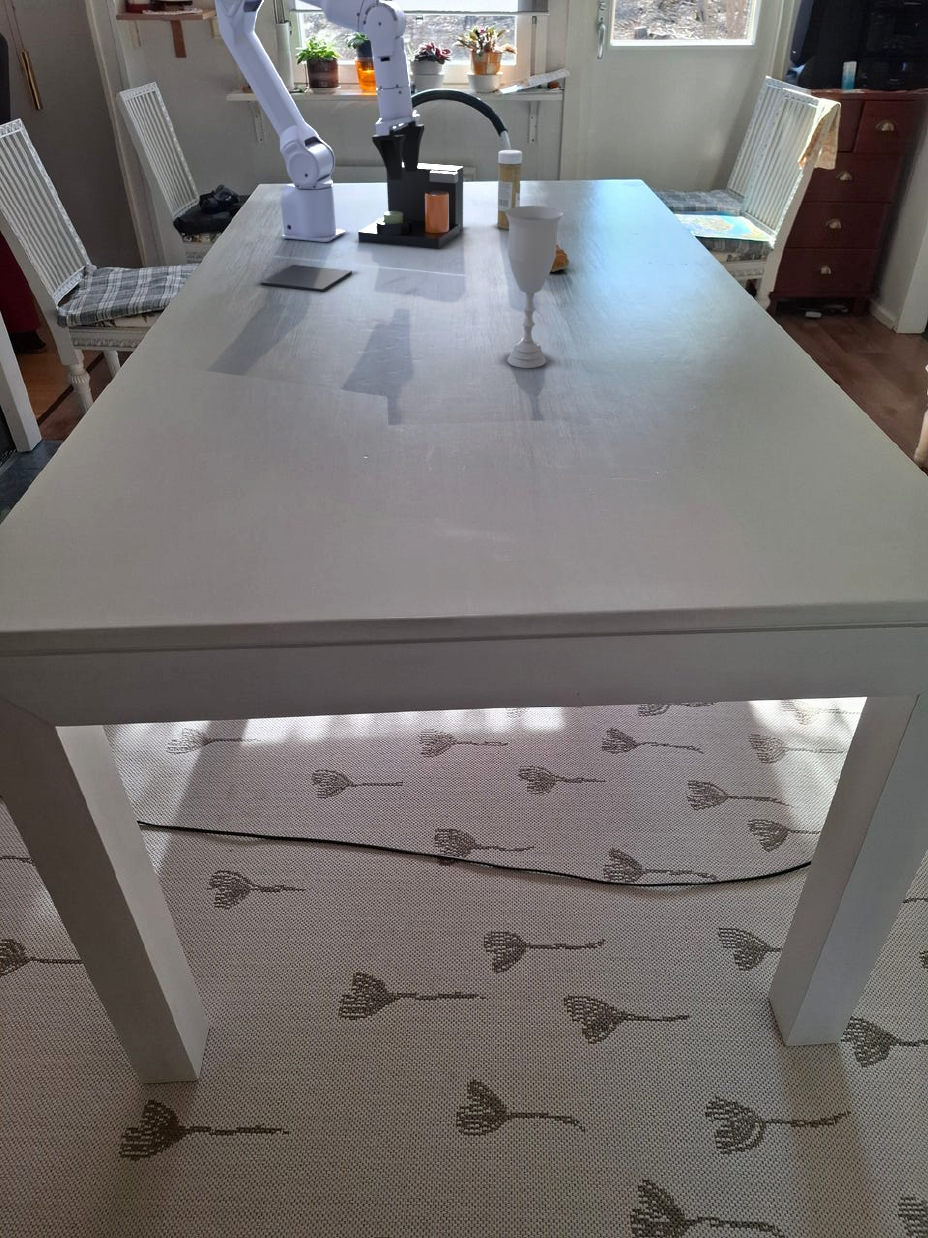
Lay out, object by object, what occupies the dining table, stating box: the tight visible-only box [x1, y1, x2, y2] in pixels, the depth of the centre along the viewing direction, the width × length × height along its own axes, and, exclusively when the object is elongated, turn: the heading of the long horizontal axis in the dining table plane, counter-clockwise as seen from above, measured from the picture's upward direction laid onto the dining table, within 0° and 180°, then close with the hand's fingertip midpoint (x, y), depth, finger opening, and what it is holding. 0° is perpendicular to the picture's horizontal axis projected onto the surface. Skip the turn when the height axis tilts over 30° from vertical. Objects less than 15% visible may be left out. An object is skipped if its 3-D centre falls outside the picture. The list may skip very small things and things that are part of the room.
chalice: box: [506, 205, 563, 369], centre depth 108 cm, size 7×7×18 cm
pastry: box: [550, 243, 570, 273], centre depth 149 cm, size 9×7×4 cm
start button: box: [383, 211, 403, 224], centre depth 161 cm, size 4×4×2 cm
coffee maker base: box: [357, 217, 461, 250], centre depth 164 cm, size 16×12×4 cm
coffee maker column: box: [385, 161, 464, 231], centre depth 168 cm, size 14×6×11 cm, turn 71°
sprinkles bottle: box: [496, 149, 523, 230], centre depth 169 cm, size 5×5×14 cm
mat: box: [260, 264, 353, 293], centre depth 143 cm, size 11×11×1 cm
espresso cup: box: [425, 191, 449, 233], centre depth 161 cm, size 4×4×6 cm
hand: (403, 174), depth 156 cm, fingers open, 7 cm apart
